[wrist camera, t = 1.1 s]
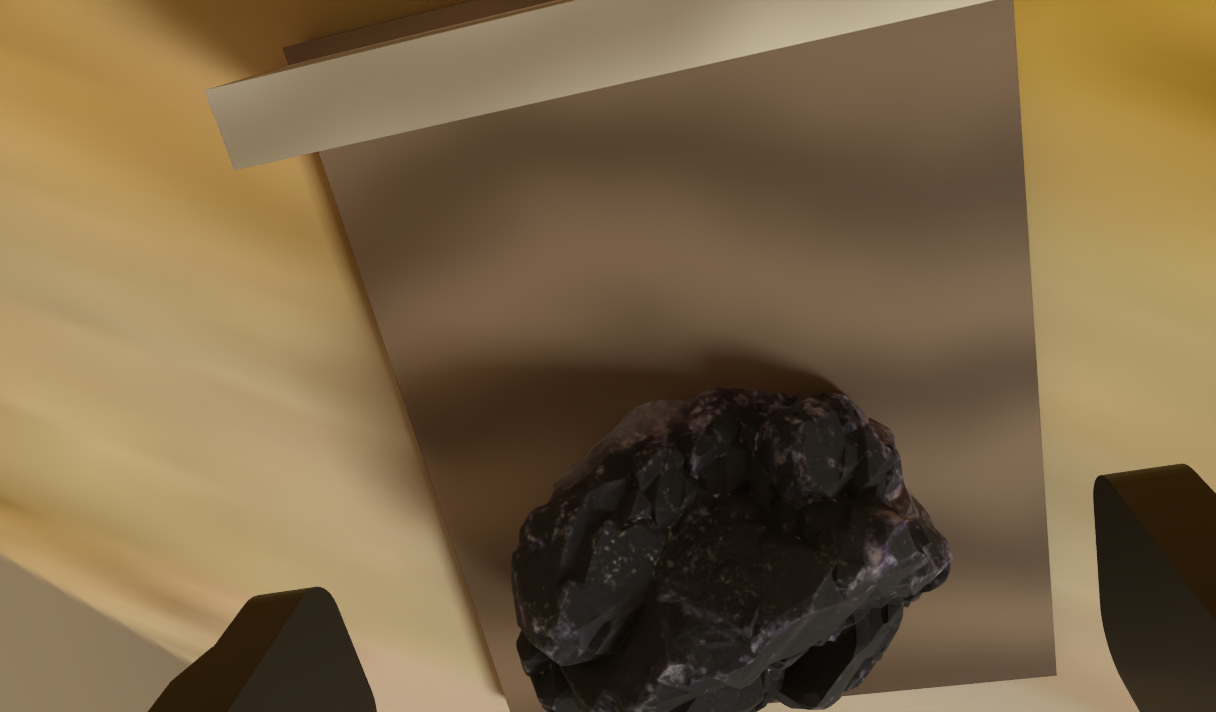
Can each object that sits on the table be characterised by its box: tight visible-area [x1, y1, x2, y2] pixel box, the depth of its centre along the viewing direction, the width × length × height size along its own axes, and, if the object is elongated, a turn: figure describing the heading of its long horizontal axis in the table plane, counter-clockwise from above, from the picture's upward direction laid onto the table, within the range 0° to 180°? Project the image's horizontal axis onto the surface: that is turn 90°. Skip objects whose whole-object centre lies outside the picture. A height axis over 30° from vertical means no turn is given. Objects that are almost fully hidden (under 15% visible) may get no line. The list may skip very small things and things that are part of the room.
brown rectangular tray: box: [204, 0, 1057, 712], centre depth 29 cm, size 26×20×6 cm
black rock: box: [511, 387, 953, 712], centre depth 30 cm, size 13×14×10 cm
